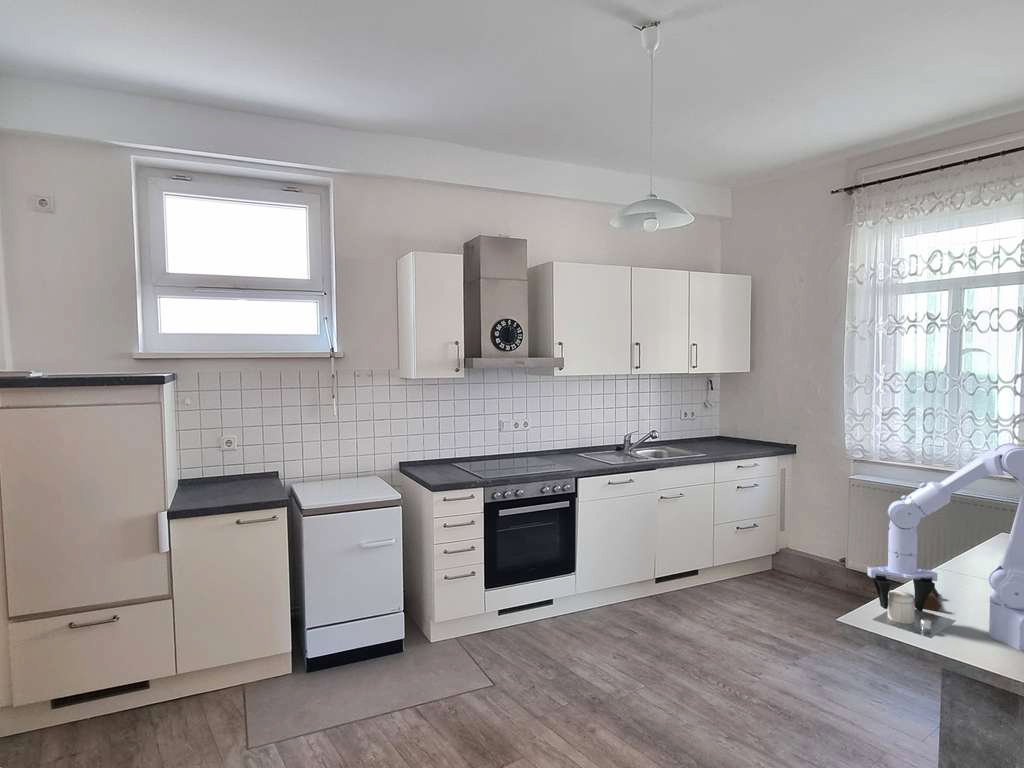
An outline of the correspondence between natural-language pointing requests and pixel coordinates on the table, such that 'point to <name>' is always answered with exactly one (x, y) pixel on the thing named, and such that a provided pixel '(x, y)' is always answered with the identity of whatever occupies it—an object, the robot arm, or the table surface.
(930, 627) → the plate
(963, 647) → the table surface
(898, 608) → the knob
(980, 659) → the table surface
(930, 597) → the bolt
